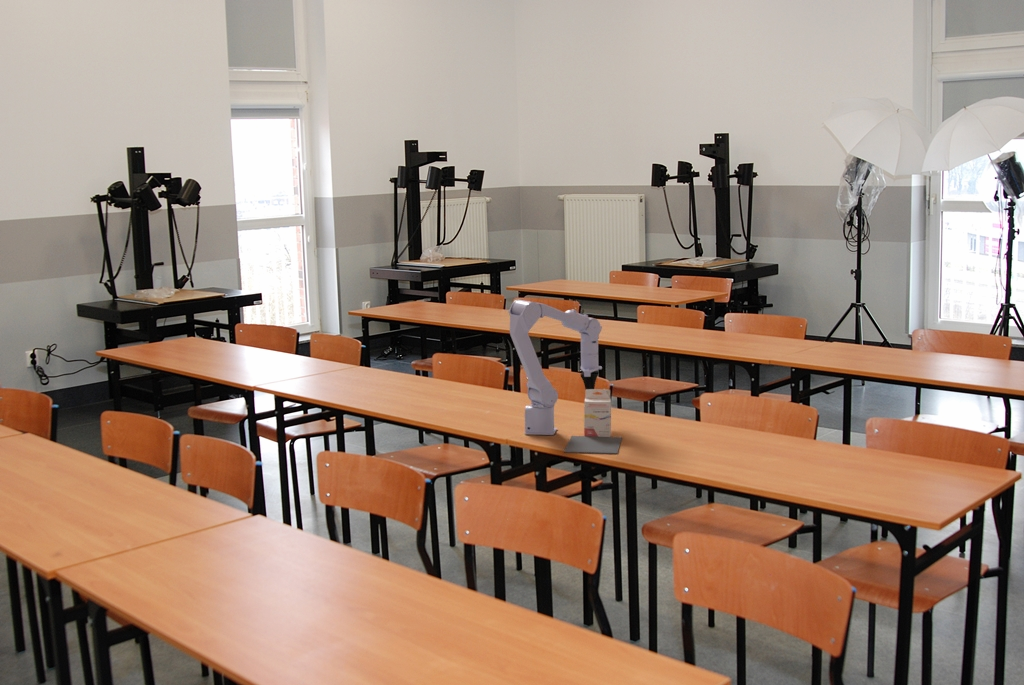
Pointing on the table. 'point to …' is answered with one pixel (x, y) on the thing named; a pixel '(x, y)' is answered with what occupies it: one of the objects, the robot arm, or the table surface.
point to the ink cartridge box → (597, 413)
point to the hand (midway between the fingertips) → (589, 393)
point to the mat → (593, 445)
